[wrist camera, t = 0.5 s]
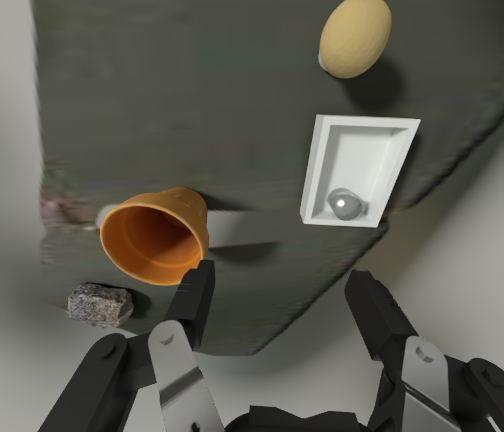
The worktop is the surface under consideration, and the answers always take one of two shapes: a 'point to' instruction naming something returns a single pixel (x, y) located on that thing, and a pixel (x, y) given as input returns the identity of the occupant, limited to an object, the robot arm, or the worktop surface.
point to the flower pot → (157, 235)
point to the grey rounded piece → (344, 204)
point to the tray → (354, 165)
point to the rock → (100, 305)
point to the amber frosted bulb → (354, 37)
